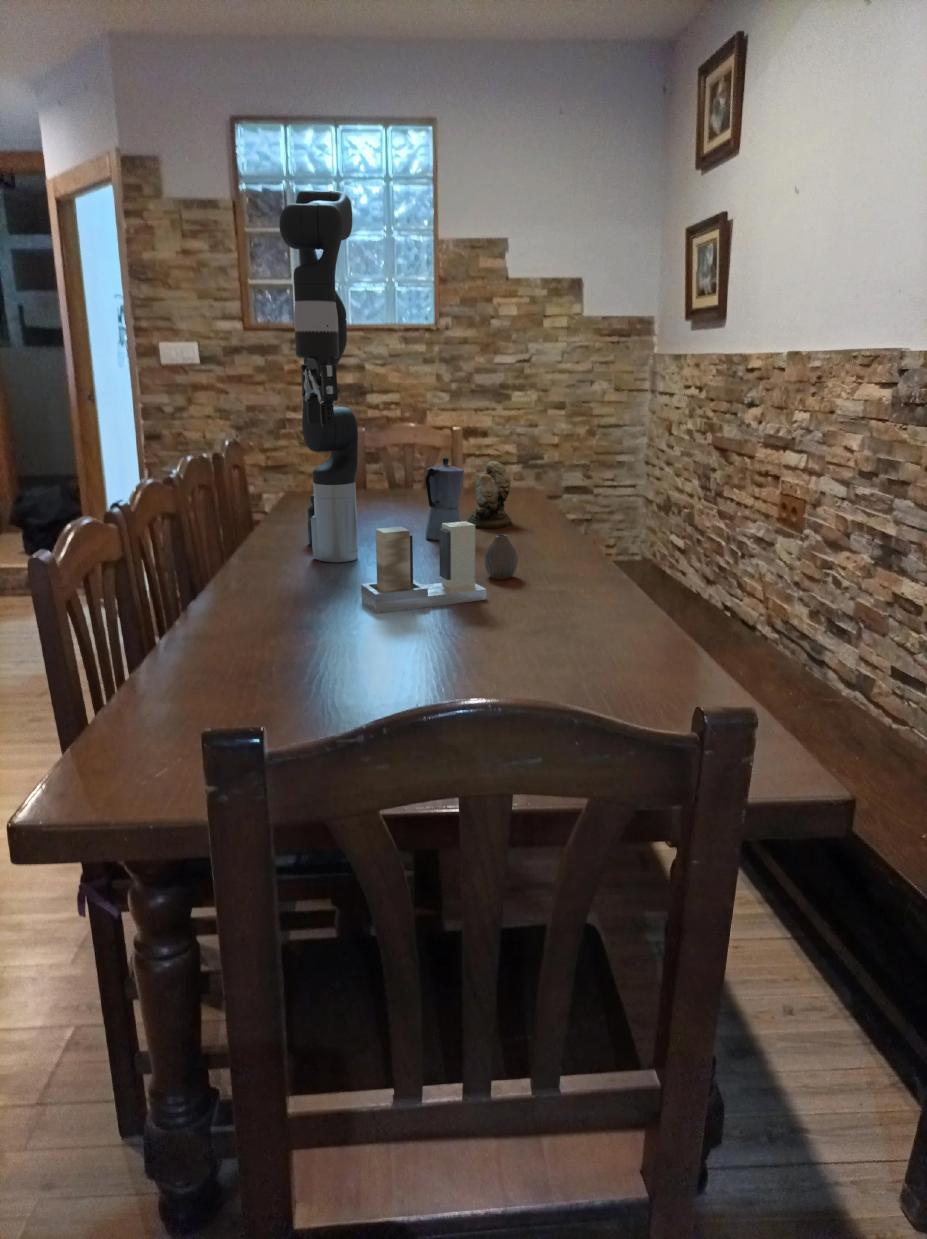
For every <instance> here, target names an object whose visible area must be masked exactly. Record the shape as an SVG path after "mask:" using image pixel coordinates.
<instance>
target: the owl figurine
mask: <svg viewBox="0 0 927 1239" xmlns="http://www.w3.org/2000/svg"><path fill="white" fill-rule="evenodd" d="M507 472H508V471H507V469H506V468H505V465H503V464H502V463H501V462H499V461H497V460H491V461H489V462H488V463H487V464H486V466H485V471H484V473H480V474H479V475H478V476H477V480H476V488H475V489H474V490H475V494H476V503H477V506H476V508H475V510H474V511H472V514H471V516H470V517H469V518H468V519H467V520H466V521H467V522H469V523H472V524H474V525H475V529H481V530H496V529H502V528H506V527H509V526H510V525H511V524H512V518H511V517H510V516H509V515H508V513H507V512H506V511H505V503H504V502H507V498H508V496H509V493H510V491H511V490H510V488H511V477H510V475H508V473H507Z"/></svg>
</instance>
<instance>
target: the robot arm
mask: <svg viewBox="0 0 927 1239" xmlns="http://www.w3.org/2000/svg"><path fill="white" fill-rule="evenodd" d="M295 201H296V202H295V203H288V204H287V205H286V206H284V208H283V209H282V211H281V213H280V216H279V217H280V218H279V221H278V222H279V225H278V226H279V233H280V236H281V238H282V240H283V242H284V243H285V244H286V245H287V246H288V247H289V248H291V249H294V250H298V253H299V265H297V266H296V267H295V268H294V270H293V289H294V290H293V291H294V309H293V310H294V312H293V321H294V322H293V323H294V342H295V344H294V345H295V356H296V358H299V359H303V363H302V364H301V367H300V368H301V395H302V414H301V416H302V417H301V418H302V419H301V422H302V424H301V426H302V427H301V428H302V429H301V430H302V434H303V435H302V436H303V440H304V443H305V446H306V447H307V448H308V449H309V450H310V451H311V452H314V453H315V452H316V453H322V452H330V455H329V457H328V459H327V460H326V461H325V462H324V463H322V464H320V465H319V466H317V467H315V468H314V469H313V471H312V487H313V494H314V510H315V516H312V517H311V529H312V546H311V548H312V559H315V560H318V561H320V562H326V563H345V562H351V561H356V560H357V559H358V556H359V554H358V552H359V548H358V523H357V522H358V521H357V498H356V496H357V494H356V493H357V492H356V490H357V489H356V473H357V470H358V456H359V455H358V452H359V450H358V449H359V446H358V445H359V431H358V422H357V418H356V416H355V414H354V412H353V411H352V410H351V409H350V408H348V407H346V406H345V407H344V406H334V405H335V404H336V401H337V402H338V399H339V395H338V378H337V376H338V374H337V366H338V364H339V362H340V361H341V359H342V357H343V355H344V352H345V350H346V346H347V341H348V331H347V326H348V325H347V310H346V308H345V305H344V303H343V300H342V299H341V297H340V296H339V293H338V292H337V291H336V270H337V269H336V268H337V262H338V257H339V252H340V248H341V243H342V241H345V240H347V239H348V238H350V236H351V233H352V229H353V208H352V207H353V206H352V203H351V202H352V201H351V199H350V198H349V196H348V195H347V194H346V193H345V192H343V191H339V190H318V189H302V190H300V191H299V192H298V193H297V196H296V200H295ZM316 250H322V254H321V255H320V257H319V258H318V255H317V251H316Z"/></svg>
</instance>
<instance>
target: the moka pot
mask: <svg viewBox="0 0 927 1239" xmlns="http://www.w3.org/2000/svg"><path fill="white" fill-rule="evenodd" d="M449 461H450V459H449V458H448V457H444V458H442V464H441V465H435V466H434V465H433V466H432V467H427V468H426V476H425V479H424V480H425V485H426V486H425V487H426V493H427V498H428V506H429V512H428V516H427V524H426V529H425V534H424V535H425V538H426V539H429V540H433V541H439V529H442V523H452V522H460V514H459V513H460V511H459V509H458V508H459V501H460V499H461V493H462V485H463V479H464V474H465V470H464V469H463V468H460V467H457V466H454V465H449Z"/></svg>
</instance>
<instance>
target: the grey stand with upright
mask: <svg viewBox="0 0 927 1239" xmlns="http://www.w3.org/2000/svg"><path fill="white" fill-rule="evenodd" d="M438 541H439V542H438V543H439V545H438V546H439V577H441V582H436V583H428V584H422V583H419V582H418V581H416V580H415V579H413V584H411V589H405V590H396V591H387V592H378V591H377V581H376V582H368V583H361V584H360V589H361V591H360V592H361V593H360V594H361V595H360V596H361V603H362V604H363V605H365V606H366V607H367V608H368V609H370V610H371V611H373V612H374V613H375V614H382V612H383V613H390V612H391V613H392V612H398V611H404V610H405V611H406V610H414V609H421V608H429V607H430V608H431V607H439V606H444V605H453V604H461V603H469V602H478V601H484V600H487V598H488V594H487V592H488V590H487V588H485V587H483V586H482V585H479V584H477V582H476V528H475V525H474V524H472V523H469V522H467V520H465V521H459V522H452V523H442V529H439V540H438Z"/></svg>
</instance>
